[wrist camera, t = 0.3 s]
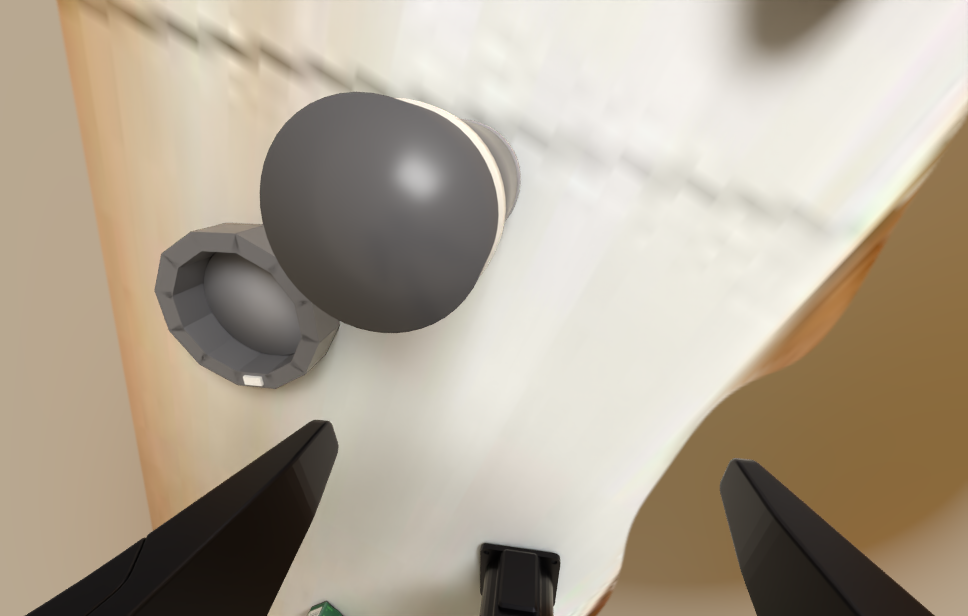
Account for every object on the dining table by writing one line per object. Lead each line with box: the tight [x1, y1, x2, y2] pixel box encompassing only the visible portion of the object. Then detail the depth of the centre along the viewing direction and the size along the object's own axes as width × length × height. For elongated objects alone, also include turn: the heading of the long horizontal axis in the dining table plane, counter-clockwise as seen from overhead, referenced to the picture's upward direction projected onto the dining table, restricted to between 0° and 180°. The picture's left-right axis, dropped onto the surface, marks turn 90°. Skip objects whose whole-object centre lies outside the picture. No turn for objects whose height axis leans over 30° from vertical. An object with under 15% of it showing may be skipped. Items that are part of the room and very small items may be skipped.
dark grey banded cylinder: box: [260, 92, 521, 333], centre depth 14 cm, size 5×5×13 cm
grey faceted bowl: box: [155, 223, 340, 389], centre depth 24 cm, size 10×10×3 cm
